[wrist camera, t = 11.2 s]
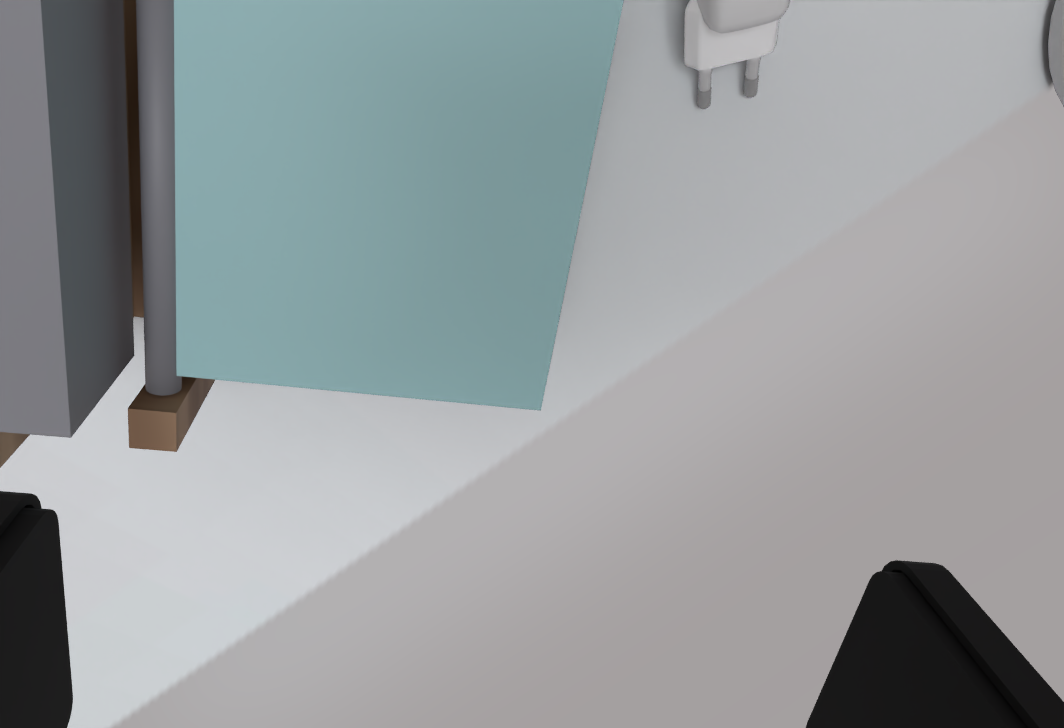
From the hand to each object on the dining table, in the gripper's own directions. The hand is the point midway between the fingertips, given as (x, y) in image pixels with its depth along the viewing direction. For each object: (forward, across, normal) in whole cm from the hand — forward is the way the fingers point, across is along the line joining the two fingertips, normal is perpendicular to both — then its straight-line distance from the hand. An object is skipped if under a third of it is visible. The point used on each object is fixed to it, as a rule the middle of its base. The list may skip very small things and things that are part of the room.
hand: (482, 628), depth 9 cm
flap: (+20, +10, 0) cm, 22 cm away
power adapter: (+32, -10, -9) cm, 35 cm away
